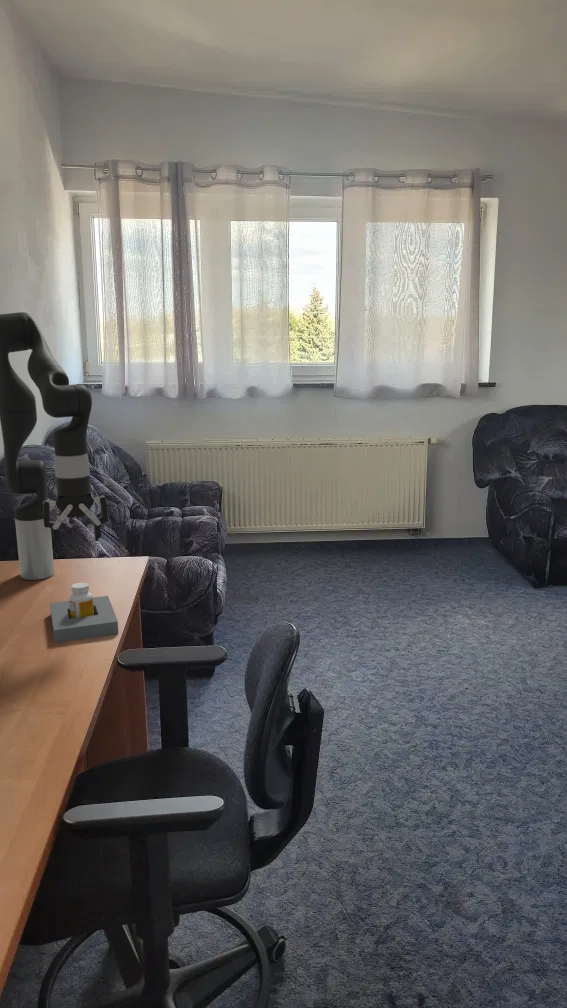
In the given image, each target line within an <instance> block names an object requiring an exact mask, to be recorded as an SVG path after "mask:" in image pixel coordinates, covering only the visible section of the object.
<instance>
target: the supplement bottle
mask: <svg viewBox="0 0 567 1008" xmlns="http://www.w3.org/2000/svg"><path fill="white" fill-rule="evenodd" d="M70 587H71V594H70V595H69V598H68V601H69V602H70V615H71V618H79V617H86V616H94V607H93V597H94V596H93V593H92V592H91V591H89V590H90V584H89V583H87V582H76V583H74V584H72V585H71V586H70Z"/></svg>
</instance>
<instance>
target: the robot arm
mask: <svg viewBox="0 0 567 1008" xmlns="http://www.w3.org/2000/svg"><path fill="white" fill-rule="evenodd" d="M28 350H31V352H30V355H29V358H28V360H27V372H28V375H29V378H30V379H31V381H32V382H33V383H34V384H35V386H36V387H37V389H38V390H39V394H40V397H41V402H42V407H43V410H44V412H45V413H46V414H47V415H48V416H49V417H52V418H55V419H58V418H69V417H70V418H71V417H72V418H71V420H70V423H69V424H68V425H65V426H63V427H60V428H57V429H56V430H54V432H53V444H54V454H55V455H54V474H55V485H56V487H55V488H56V499H55V500H49V498H48V495H49V494H48V473H47V466H46V463H45V462H44V461H43V460H40V459H39V460H38V459H35V460H33V459H31V460H19V461H18V457H19V454H20V452H21V450H22V447H23V445H24V444H25V442H26V441H27V439H28V438H29V437H30V436H31V434H32V432H33V430H34V429H35V427H36V425H37V421H38V415H37V403H36V402H37V401H36V396H35V394H34V393H33V392H32V390H31V389H30V387H29V386H28V384H26V382H24V380H23V379H22V378H21V377H20V376H19V375H18V374H17V372H16V371H15V370H14V368H13V367H12V365H11V363H10V358H9V354H10V353H16V352H25V351H28ZM69 380H70V379H69V377H68V375H67V373H66V372H65V370H64V369H63V368H62V367H61V365H60V364H59V363H58V361H57V360H56V359H55V357H54V356H53V354H52V352H51V349H50V348H49V346H48V343H47V341H46V340H45V337H44V335H43V333H42V331H41V329H40V326H39V325H38V323H37V321H36V320H35V319H34V317H33V316H32V315H31V314H30V313H28V312H23V311H21V312H11V313H10V312H9V313H2V314H1V313H0V427H1V428H0V429H1V435H2V442H3V453H4V455H3V457H4V461H3V462H4V479H5V485H6V488H7V489H6V490H7V492H9V494H11V495H16V496H17V495H29V494H31V495H32V494H35V496H34V497H33V498H32V499H30V500H29V501H28V502H25V503H23V504H21V505H18V506H17V507H15V509H14V523H15V532H16V534H15V535H16V543H17V553H18V562H19V563H18V564H19V573H20V574H19V575H20V576H19V577H20V578H21V579H22V580H25V581H38V580H44V579H48V578H50V577H52V576H54V574H55V568H54V567H55V566H54V556H53V555H54V554H53V544H52V542H54V543H56V545H57V546H59V545H61V537H60V536H61V535H60V526H61V525H62V523H63V522H64V521H65V520H66V518H68V519H74V518H83V517H86V516H87V518H89V519H90V520H91V521H92V522H93V535H94V536H93V537H94V541H95V542H99V539H101V538H102V531H101V530H102V528H101V527H102V526H101V525H102V524H104V523H108V522H109V514H108V507H107V500H106V499H107V498H106V497H105V496H104V495H103V494H102V495H100V496H97V497H96V496H95V497H93V495H92V484H91V483H92V482H91V473H90V461H89V456H88V455H89V454H88V444H87V442H88V441H87V433H88V432H87V431H88V427H89V421H90V416H91V411H92V406H93V398H92V394H91V392H90V390H89V388H88V387H86V385H83V384H81V383H80V384H70V381H69ZM94 503H96V505H97V506H98V507H99V508H100V513H101V514H100V515H101V516H100V517H98V516H97V515H96V514H95V513H94V512H93V511H92V509H91V508H92V507H93V505H94ZM54 507H57V509H58V510H59V512H58V514H57V516H56V518H55V519H54V520H53V521H51V520H50V519H51V518H50V511H52V510H53V509H54ZM51 530H52V531H51ZM52 539H53V541H52Z"/></svg>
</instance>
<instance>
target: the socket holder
mask: <svg viewBox="0 0 567 1008" xmlns="http://www.w3.org/2000/svg"><path fill="white" fill-rule="evenodd" d="M49 606H50V607H49V608H50V617H51V618H50V619H51V625H52V632H53V637H54V638H53V639H54V644H55V643H56V644H57V643H63V642H64V643H65V642H69V641H77V640H84V639H90V638H97V637H105V636H111V635H117V634H119V621H118V619H117V616H116V613H115V611H114V608H113V604H112V602H111V600H110V598H109V595H103V596H101V595H100V596H96V597H94V596H93V607H94V616H86V617H79V618H71V615H70V602H69V600H64V601H55V602H49Z"/></svg>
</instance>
